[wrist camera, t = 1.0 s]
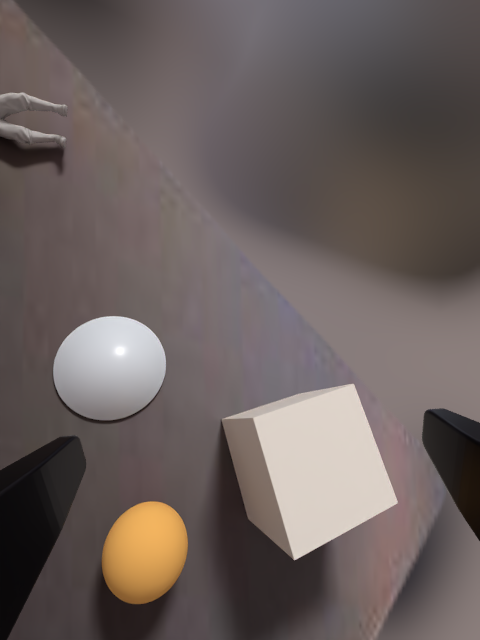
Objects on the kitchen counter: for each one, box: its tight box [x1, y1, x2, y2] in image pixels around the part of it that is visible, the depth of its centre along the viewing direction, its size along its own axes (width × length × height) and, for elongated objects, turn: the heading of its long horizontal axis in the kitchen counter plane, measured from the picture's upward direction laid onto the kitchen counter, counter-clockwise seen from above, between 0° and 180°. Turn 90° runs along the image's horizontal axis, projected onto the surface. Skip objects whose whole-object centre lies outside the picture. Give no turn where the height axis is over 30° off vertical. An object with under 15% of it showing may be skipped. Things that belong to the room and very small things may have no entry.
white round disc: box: [53, 316, 166, 420], centre depth 24 cm, size 8×8×1 cm
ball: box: [102, 501, 188, 604], centre depth 19 cm, size 5×5×5 cm
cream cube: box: [221, 384, 398, 560], centre depth 22 cm, size 8×8×8 cm
